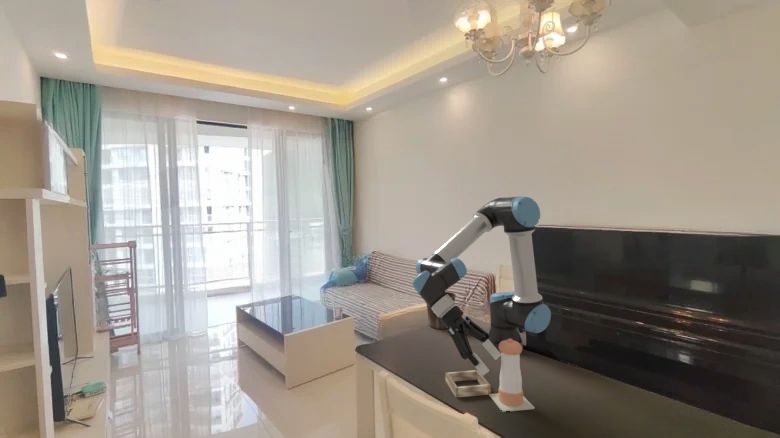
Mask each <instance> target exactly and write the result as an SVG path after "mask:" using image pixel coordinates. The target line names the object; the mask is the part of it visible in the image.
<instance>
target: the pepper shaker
mask: <svg viewBox="0 0 780 438" xmlns="http://www.w3.org/2000/svg"><path fill="white" fill-rule="evenodd" d="M498 348H499V350H500V351H499V352H500V353H501V356H500V372H499V386H498V393H499V401H500V402H501V403H503V404H505V405H508V406H520V405H522V404H523V396H524V390H523V378H522V372H521V365H520V364H521V362H520V361H521V360H520V358H521V357H520V356H521V354H522V352H523V348H522V346H521V345H520V343H518V342H516V341H514V340H512V339H508V340H504V341H501V342H500V343H499V347H498Z"/></svg>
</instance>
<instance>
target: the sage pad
mask: <svg viewBox="0 0 780 438" xmlns="http://www.w3.org/2000/svg"><path fill="white" fill-rule="evenodd" d="M488 396H489V397H490V398H491V400H492V401H493V402H494V404H495V405H496V406H497V407H498V408H499V410H500V411H501V410H502V411H501V412H502V413H507V412H506V411H510V412H517V411H518V412H519V411H529V410H535V406H534V405H533V404H532V403H531V402H530V401H529V400H528V399H527V398H526V397H525V396H524V395H523V404H522V405H520V406H508V405H505V404H503V403H501V402H500V401H499V392H496V393H491V394H489V395H488Z"/></svg>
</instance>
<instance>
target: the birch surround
mask: <svg viewBox="0 0 780 438" xmlns="http://www.w3.org/2000/svg"><path fill="white" fill-rule="evenodd" d="M463 381H476V382H478V384H475V385H463V386H457V384H456V382H463ZM445 382H446V384H447V386H448V387H449V388H450V390H451V392H452V393H453V396H455V398H457V399H458V398H467V397H476V396H486V395H488V396H489V394H492V390H491V386H492V385H491V384H490V383H489V381H488V380H487V379H486V378H485V377H484V376H482V375H481V374H480V372H479V371H478V370H477V369H474V370H472V369H471V370H461V371H460V370H459V371H452V372H451V371H449V372H445Z"/></svg>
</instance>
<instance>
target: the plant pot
mask: <svg viewBox="0 0 780 438" xmlns="http://www.w3.org/2000/svg"><path fill="white" fill-rule="evenodd" d="M445 292H446V293H447V294H448V295H449V296H450V297H451V299H452V300H453V301H454V302H455V303H456V297H457V294H455V293H454V292H450V291H445ZM425 304H426V311H427V317H428V325H429V327H430V328H432V329H436V330H446V329H447V327H446V326H445V325H444V324H443V323H442V321H441V317H438V316H437V315H436V314H435V313H434V312H433V310H432V309H431V308H430V306H429V305H428V304H427V303H426V302H425ZM450 328H451V326H450V327H448V329H450Z"/></svg>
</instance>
